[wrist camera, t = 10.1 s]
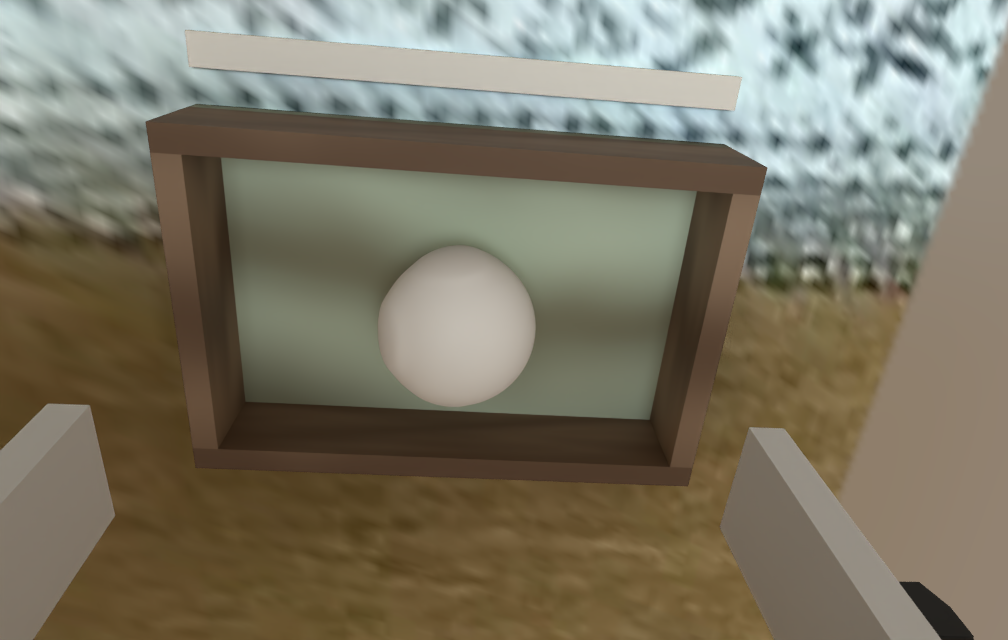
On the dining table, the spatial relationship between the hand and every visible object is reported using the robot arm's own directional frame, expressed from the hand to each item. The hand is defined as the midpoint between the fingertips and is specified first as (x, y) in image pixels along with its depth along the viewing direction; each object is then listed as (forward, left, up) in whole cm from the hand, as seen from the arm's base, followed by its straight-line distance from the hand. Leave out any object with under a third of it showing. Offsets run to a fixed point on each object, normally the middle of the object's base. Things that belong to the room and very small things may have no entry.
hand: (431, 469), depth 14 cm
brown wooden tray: (0, 0, -11) cm, 11 cm away
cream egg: (0, 0, -10) cm, 10 cm away
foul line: (-7, 0, -11) cm, 13 cm away
